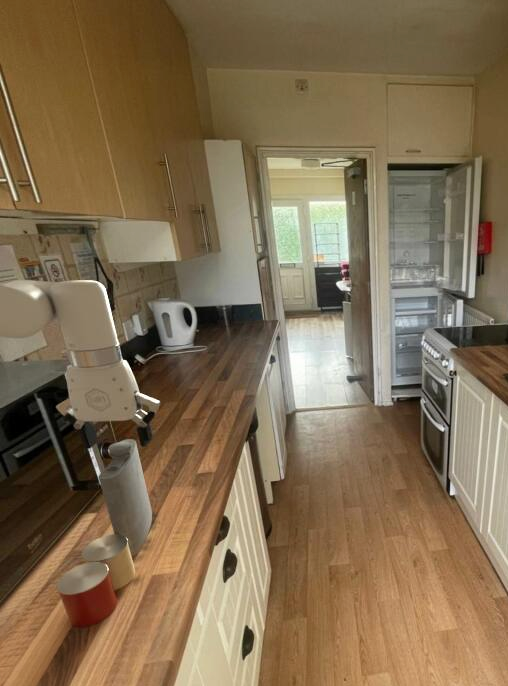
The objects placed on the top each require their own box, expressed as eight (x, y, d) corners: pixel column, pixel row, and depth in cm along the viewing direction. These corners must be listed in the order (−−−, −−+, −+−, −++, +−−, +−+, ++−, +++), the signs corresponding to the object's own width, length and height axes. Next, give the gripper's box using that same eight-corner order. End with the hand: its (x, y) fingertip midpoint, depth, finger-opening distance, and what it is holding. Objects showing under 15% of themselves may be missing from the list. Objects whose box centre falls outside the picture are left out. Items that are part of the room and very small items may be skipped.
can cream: (83, 594, 73) (72, 562, 70) (103, 565, 79) (94, 535, 76) (125, 591, 73) (116, 560, 71) (142, 563, 80) (134, 533, 77)
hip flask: (137, 510, 94) (117, 428, 86) (157, 507, 96) (139, 426, 88) (118, 559, 80) (92, 467, 73) (142, 555, 82) (119, 464, 74)
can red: (59, 629, 66) (46, 595, 64) (83, 595, 73) (72, 562, 70) (105, 626, 67) (94, 592, 64) (125, 592, 73) (116, 560, 70)
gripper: (27, 363, 69) (58, 455, 76) (139, 361, 71) (160, 452, 78) (55, 351, 76) (81, 437, 83) (157, 349, 77) (174, 434, 84)
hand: (119, 444), depth 80 cm, fingers open, 9 cm apart
